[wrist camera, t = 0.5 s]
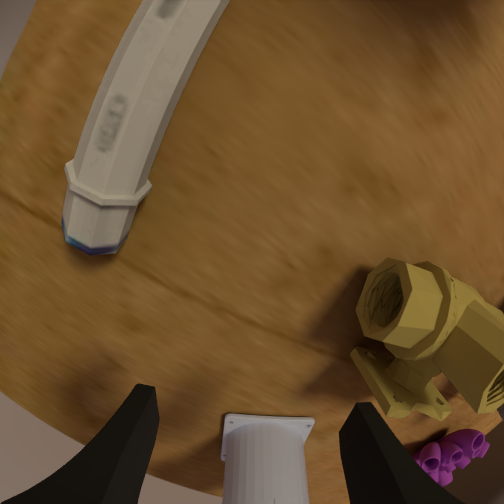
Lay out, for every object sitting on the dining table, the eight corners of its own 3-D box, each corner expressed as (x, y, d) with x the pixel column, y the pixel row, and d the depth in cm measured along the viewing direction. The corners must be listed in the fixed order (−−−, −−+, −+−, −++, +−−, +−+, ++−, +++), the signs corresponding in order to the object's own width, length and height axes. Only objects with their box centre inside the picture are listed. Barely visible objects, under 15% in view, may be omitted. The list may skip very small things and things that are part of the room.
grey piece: (36, 230, 14) (264, -184, 1) (94, 183, 19) (269, -128, 7) (117, 275, 15) (373, -153, 2) (159, 215, 20) (348, -100, 8)
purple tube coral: (389, 452, 35) (366, 499, 28) (451, 388, 29) (442, 440, 22) (441, 480, 30) (426, 528, 23) (509, 422, 24) (509, 474, 16)
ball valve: (377, 230, 18) (305, 360, 21) (496, 308, 9) (354, 482, 11) (480, 286, 21) (421, 382, 24) (563, 348, 11) (477, 460, 14)
